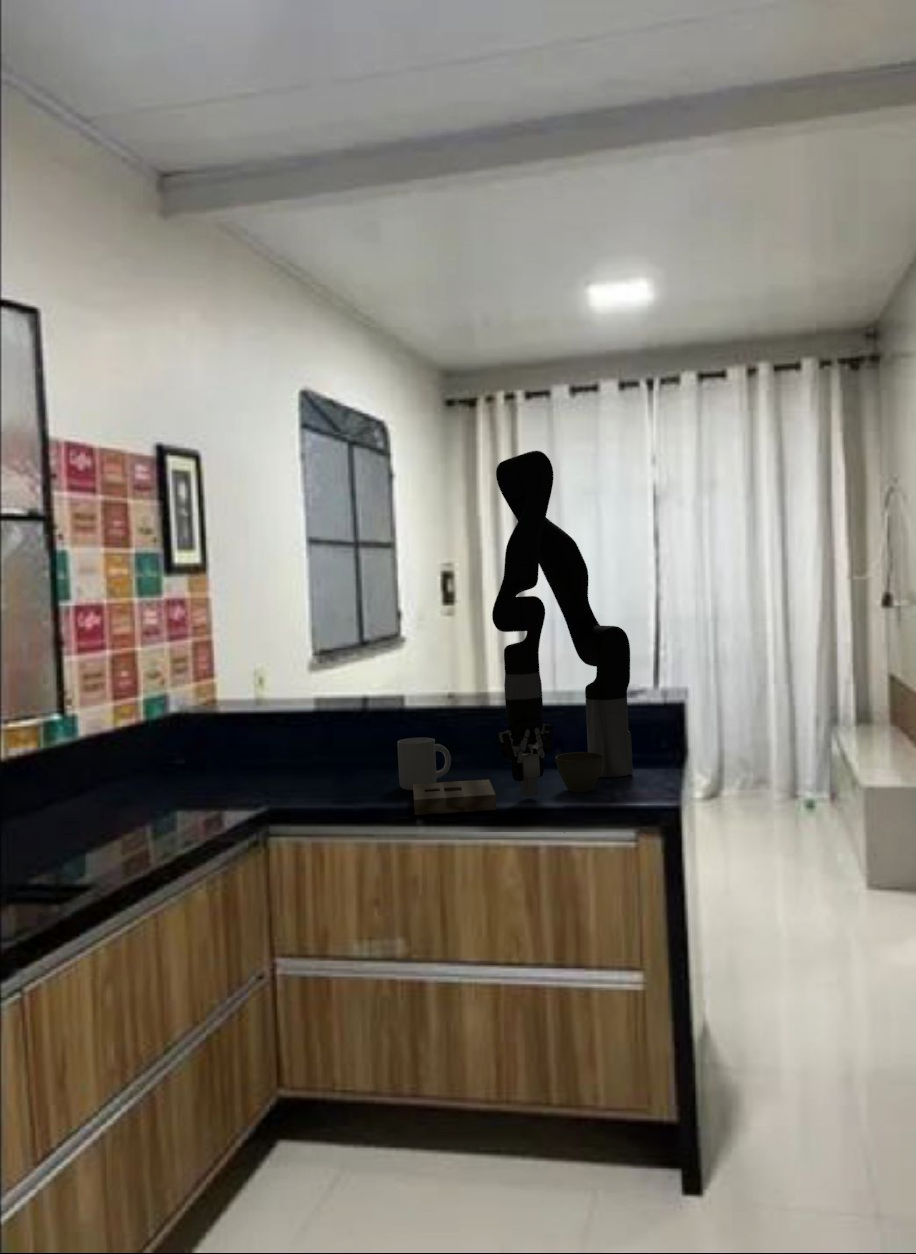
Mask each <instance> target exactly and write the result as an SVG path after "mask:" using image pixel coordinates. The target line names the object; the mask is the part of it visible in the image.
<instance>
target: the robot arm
mask: <svg viewBox="0 0 916 1254" xmlns="http://www.w3.org/2000/svg"><path fill="white" fill-rule="evenodd" d="M495 477H496V482H497V486H498V488H499V491H500V493H501V494H502V497H503V498H504V500H505V502H506V504H507V505H508V507H509V509H510V511H511V512H512V514H513V515H514V517H515V519H516V520H517V523H516V524H515V527H514V528H513V531H512V532H511V535H510V536H509V539H508V541H507V545H506V548H505V554H504V568H503V577H502V582H501V585H500V587H499V590H498V593H497V596H496V599H495V600H494V604H493V608H492V612H491V613H492V614H491V616H492V622H493V625H494V626H495V628H496V629H497V631H500V632H502V633H513V632H514V633H515V632H516V633H517V632H526V635H525V638H524V639H523V640H521V641H519V642H513V643H510V644H508V645H506V646H504V647H505V648H504V650H503V660H504V662H503V663H504V685H503V687H504V703H505V717H506V718H507V721H508V726H507V729H506V730H505V731H503V732H500V731H499V732H497V734H496V739H497V742H498V747H499V750H500V753H501V757H502V760H503V761H506V762H507V761H508V762H510V764H511V776H512V778H513V780H514V781H515V782H520V781H523V763H521V761H522V757H523V754H524V752H526V749H527V747H528V748H529V750H530V752H531V754H538V755H539V763H540V776H537V778H540V777H543V776H544V772H545V766H544V758H545V756H546V755H547V754H548V755H549V754H550V753H551V752H552V746H553V745H552V744H553V736H554V728H555V727H554V725H553V724H548V723H547V724H546V723H543V721H542V718H543V717H544V703H543V687H542V684H543V683H542V679H541V673H540V671H541V670H540V657H539V656H540V655H539V651H540V642H541V636H542V632H543V626H544V624H545V623H544V622H545V617H546V608H545V607H546V606H545V604H544V602H543V601H542V599H541V598H540V597H538V596H536V595H528V596H527V595H526V596H518V595H519V594H520V593H523V592H525V591H529V590H531V589H533V588H535V587H536V586H537V585H538V580H539V568H540V569H541V571H542V573H543V576H544V578H545V580H546V582H547V583H548V585H549V587H550V589H551V592H552V593H553V596H554V597H555V600H556V603H557V605H558V607H559V610H560V612H561V613H562V616H563V618H564V621H565V624H566V626H567V629H568V632H569V636H570V637H571V641H572V644H573V647H574V649H575V652H576V654H577V656H578V657H579V659H580V661H581V662H583V663H584V664H586V665H588V666H590V667H596V674H595V675H596V676H595V678H594V680H593V681H592V682H590V683H588V684H587V685H586V686H585V689H584V690H585V691H584V693H585V695H584V696H585V714H586V716H585V717H586V737H587V752H591V753H598V754H602V755H603V764H602V769H601V773H600V776H599V778H618V777H625V776H630V775H633V773H634V770H633V752H632V751H633V750H632V747H633V746H632V733H631V731H629V710H628V709H629V708H628V707H629V706H628V688H629V685H630V682H631V647H630V640H629V637H628V634H627V633H626V632H625V630H624V629H623V628H621V627H620V626H616V625H601V624H600V623H599V621H598V620H597V618H596V616H595V614H594V612H593V610H592V608H591V605H590V601H589V571H588V566H587V564H586V562H585V559H584V557H583V555H582V552H581V550H580V549H579V546H578V544H577V542H576V541H575V539H574V538H572V537H571V536H570V535H569V533H567V532H566V531H564V530H563V529H562V528H561V527H559V526H558V525H556V524H555V523H554V522H552V520H550V519H549V518H548V517H547V513H548V510H549V505H550V500H551V495H552V490H553V485H554V468H553V464H552V463H551V460H550V458H549V457H548V456H547V454H545V453H544V452H543V451H541V450H532V451H528V452H525V453H521V454H519V455H516V456H513V457H509V458H507V459H505V460H502V461H501V462H499V463H498V464H497V466H496V470H495ZM516 755H517V756H516Z"/></svg>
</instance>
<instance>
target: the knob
mask: <svg viewBox="0 0 916 1254" xmlns="http://www.w3.org/2000/svg"><path fill="white" fill-rule="evenodd" d="M516 756H517V754H516ZM521 763H523V781H519V782H520V795H521V796H524V797H528V798H529V797H533V796H537V795H539V792H538V777H537V776H540V763H539V755H538V754H532V753H523V757H522V761H521Z"/></svg>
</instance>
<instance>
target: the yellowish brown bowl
mask: <svg viewBox="0 0 916 1254" xmlns="http://www.w3.org/2000/svg"><path fill="white" fill-rule="evenodd" d="M554 758H555V762H556V767H557V770H558V773H559V774H558V775H560V777H561V780H562V782H563V784H564V786H565V788H567V790H568V791H569V792H572V793H589V792H591V791H593V790H594V789H595V786H596V785H597V783H598V780H599V778H600V777H599V776H600V773H601V769H602V764H603V755H602V754H598V753H591V752H588V751H587V752H585V751H579V752H578V751H577V752H565V753H561V754H558V755H556V756H555V757H554Z"/></svg>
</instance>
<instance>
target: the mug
mask: <svg viewBox="0 0 916 1254" xmlns="http://www.w3.org/2000/svg"><path fill="white" fill-rule="evenodd" d="M396 743H397V744H396V745H397V764H398V765H397V767H398V779H399V780H398V781H399V787H400V788H401V789H402V790H405V791H406V790H408V791H413V784H424V783H438V782H437V779H438V778H440V777H444V775H446V774H447V773H448V771H450V768H451V764H452V757H451V754H450V752H449V750H448V749H447V748H446V747H445V746H444V745H442V744H440V743H436V739H435V738H432V737H409V738H408V737H407V738H404V739H403V738H402V739H399V740H398V741H396ZM436 752H441V753H442V754H443V756H444V765H443V767H442V769H441V768H440V769H439V770H437V761H436V760H437V758H436V756H437V755H436Z"/></svg>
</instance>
